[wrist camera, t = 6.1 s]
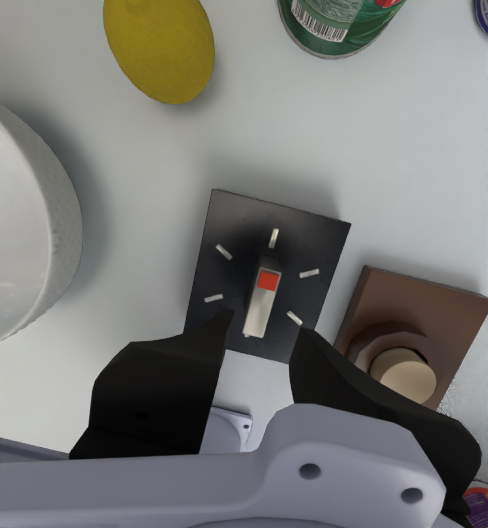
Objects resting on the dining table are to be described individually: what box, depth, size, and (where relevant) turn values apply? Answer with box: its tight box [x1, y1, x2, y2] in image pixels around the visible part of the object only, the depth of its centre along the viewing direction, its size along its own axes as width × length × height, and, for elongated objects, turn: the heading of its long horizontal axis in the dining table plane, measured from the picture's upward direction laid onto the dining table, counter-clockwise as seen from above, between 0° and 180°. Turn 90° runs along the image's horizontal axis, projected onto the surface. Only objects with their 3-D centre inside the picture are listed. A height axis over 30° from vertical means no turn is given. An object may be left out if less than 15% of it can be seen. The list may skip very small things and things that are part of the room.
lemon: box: [103, 0, 215, 104], centre depth 15 cm, size 6×6×8 cm
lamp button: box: [370, 348, 436, 404], centre depth 20 cm, size 4×4×2 cm
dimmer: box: [183, 189, 351, 364], centre depth 21 cm, size 12×10×3 cm
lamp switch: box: [334, 265, 488, 411], centre depth 22 cm, size 12×10×3 cm
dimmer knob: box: [242, 255, 282, 338], centre depth 18 cm, size 5×1×4 cm, turn 166°
